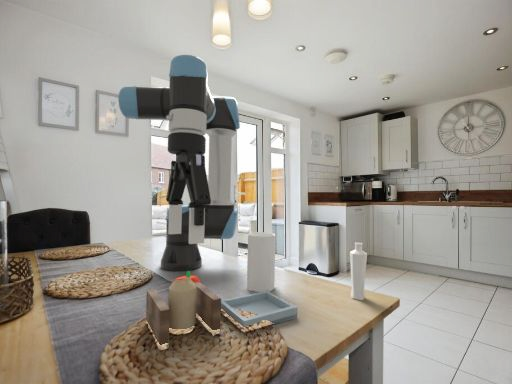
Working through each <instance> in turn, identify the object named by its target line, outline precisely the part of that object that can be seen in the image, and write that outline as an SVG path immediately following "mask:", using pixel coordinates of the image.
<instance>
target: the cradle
mask: <svg viewBox="0 0 512 384" xmlns="http://www.w3.org/2000/svg"><path fill="white" fill-rule="evenodd" d="M194 283H195V284H196V286H197V292H196V313H197V314H198V315H199V316H200V317H201V318H202V320H203V321H204V322H205V323H206V324H207V325H208V326H209V327H210V328H211V329H212V330H217V329H220V330H221V324H222V323H221V321H222V319H221V315H222V314H221V300H222V298H221V297H220V296H219V295H217V294H215V292H214V291H212V290H211V289H210V288H208V287H207V286H205V285H204V284H203V283H202V282H201V283H200V282H194ZM145 303H146V304H145V306H146V307H145V321H146V320H147V322H148V323H149V325H150V327H151V329H152V331H153V333H154V335H155V337H156V339H157V341H158V342H159V344H160V345H162V344H165V343H169V344H170V333H169V327H170V308H169V307H168V304H167V303H166V302H165V301H164V299H163V298H162V296H161V295H160V294H159V293H158V291H157V290H156V289H155V288H150V289H146V302H145Z"/></svg>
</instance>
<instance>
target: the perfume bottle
mask: <svg viewBox="0 0 512 384" xmlns="http://www.w3.org/2000/svg"><path fill="white" fill-rule="evenodd" d="M363 244H364V243H363V242H354V249H353V250H351V251H350V250H349V262H350V266H349V267H350V279H351V281H350V283H351V292H350V295H349V296H350V297H351V299H354V300H358V301H363V300H365V298H366V295H365V281H366V271H367V270H366V269H367V261H368V252H365V251H364V250H363Z"/></svg>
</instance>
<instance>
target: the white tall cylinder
mask: <svg viewBox="0 0 512 384" xmlns="http://www.w3.org/2000/svg"><path fill="white" fill-rule="evenodd" d="M246 261H247V262H246V263H247V266H246V269H247V270H246V289H247V290H249V291H251V292H255V293H259V292H264V291H268V292H272V291H274V289H275V277H276V276H275V274H276V273H275V270H276V268H275V267H276V266H275V265H276V263H275V262H276V234H275V233H273V232H268V231H267V232H263V231H262V232H261V231H257V232H256V231H254V232H253V231H252V232H249V233H248V234H247V259H246Z"/></svg>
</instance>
